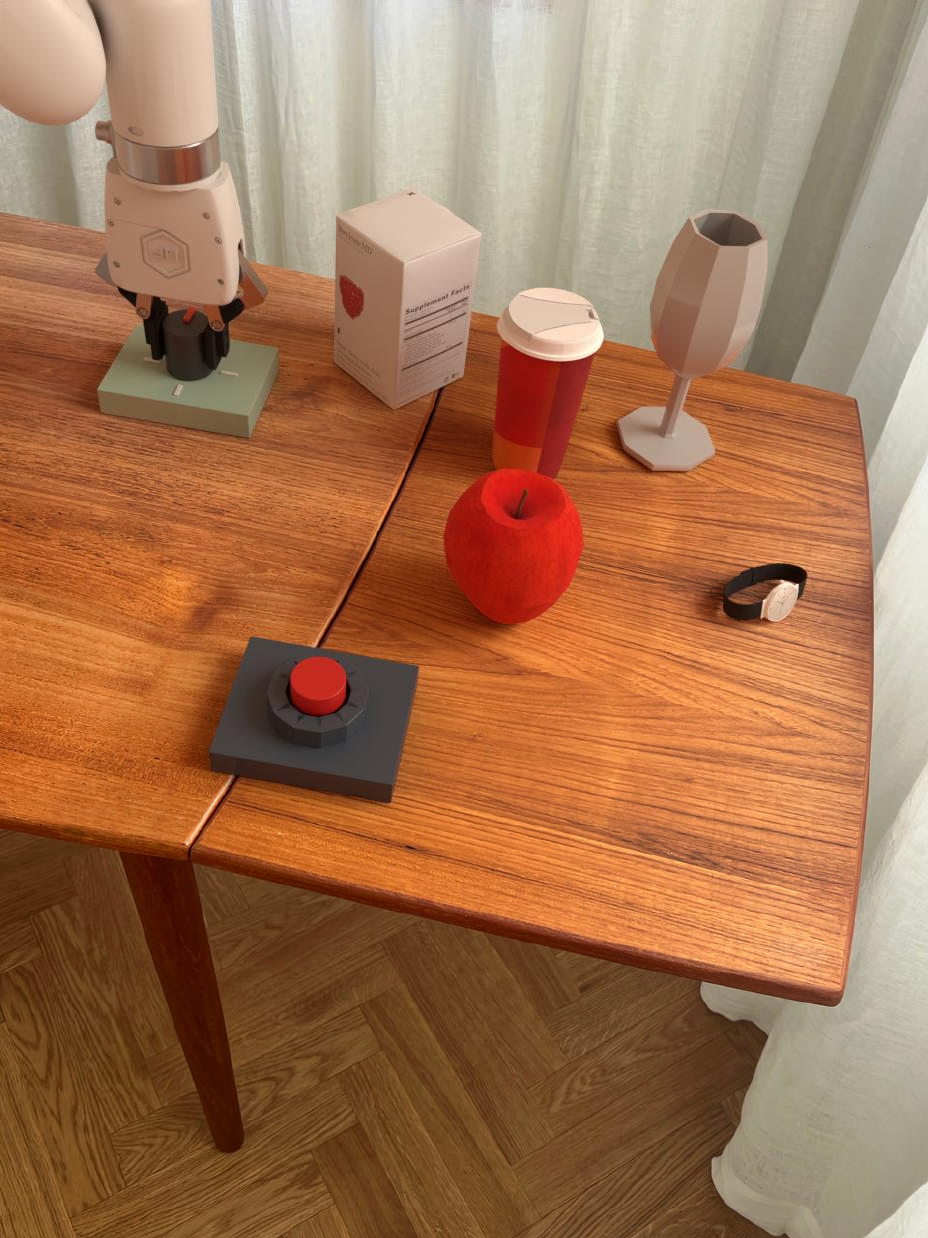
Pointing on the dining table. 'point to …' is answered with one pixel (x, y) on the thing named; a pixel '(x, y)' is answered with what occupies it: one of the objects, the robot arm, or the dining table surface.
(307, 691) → the power button
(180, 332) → the timer knob
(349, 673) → the grey button base
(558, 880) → the dining table surface
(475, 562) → the apple
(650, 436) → the wineglass
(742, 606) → the watch
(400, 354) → the rectangular carton
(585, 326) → the coffee cup
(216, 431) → the panel
